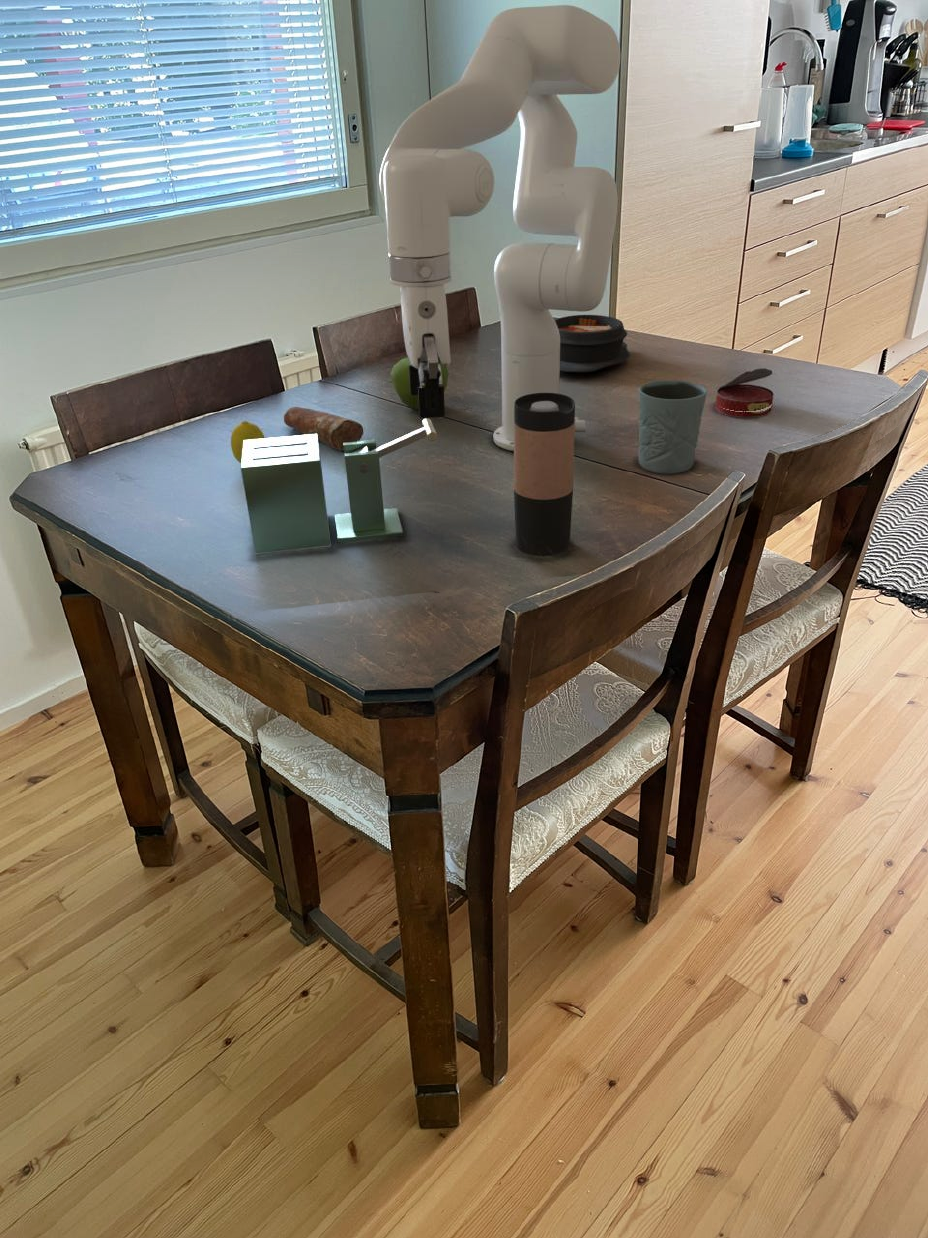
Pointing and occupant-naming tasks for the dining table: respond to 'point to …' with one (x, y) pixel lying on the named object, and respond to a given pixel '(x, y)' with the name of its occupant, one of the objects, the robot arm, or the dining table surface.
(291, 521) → the toaster
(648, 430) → the green embossed cup
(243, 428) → the lemon
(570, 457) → the travel mug
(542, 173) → the robot arm
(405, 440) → the lever
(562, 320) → the casserole
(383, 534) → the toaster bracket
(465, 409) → the dining table surface
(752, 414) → the canned food
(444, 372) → the apple
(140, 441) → the dining table surface
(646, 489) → the dining table surface
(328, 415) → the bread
